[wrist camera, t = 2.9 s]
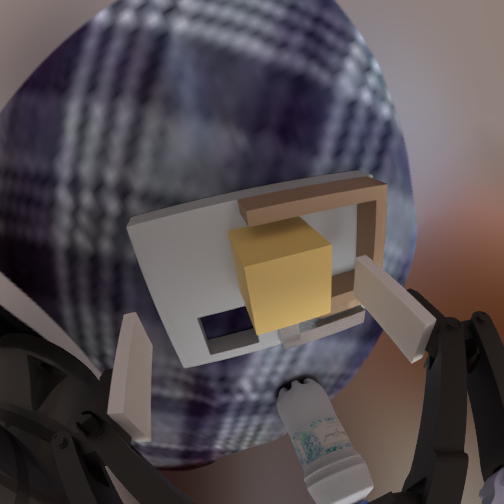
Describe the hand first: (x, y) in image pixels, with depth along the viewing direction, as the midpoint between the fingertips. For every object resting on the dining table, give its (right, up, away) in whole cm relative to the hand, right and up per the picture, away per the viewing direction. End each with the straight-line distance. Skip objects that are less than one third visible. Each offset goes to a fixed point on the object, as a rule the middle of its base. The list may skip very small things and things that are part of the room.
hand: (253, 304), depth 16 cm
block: (+1, +3, +5) cm, 6 cm away
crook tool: (+6, -2, +8) cm, 11 cm away
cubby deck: (+1, +1, +8) cm, 8 cm away
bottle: (+6, -15, +17) cm, 23 cm away
